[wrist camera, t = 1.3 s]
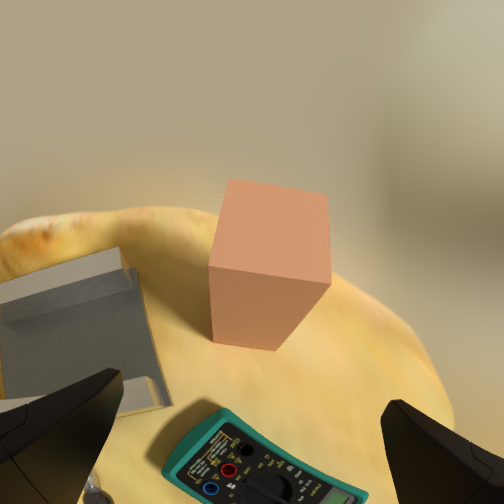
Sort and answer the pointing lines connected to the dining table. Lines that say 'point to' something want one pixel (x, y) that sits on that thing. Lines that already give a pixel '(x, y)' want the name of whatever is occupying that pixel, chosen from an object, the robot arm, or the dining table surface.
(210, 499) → the digital multimeter
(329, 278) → the terracotta block
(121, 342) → the bench vise
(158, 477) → the dining table surface
